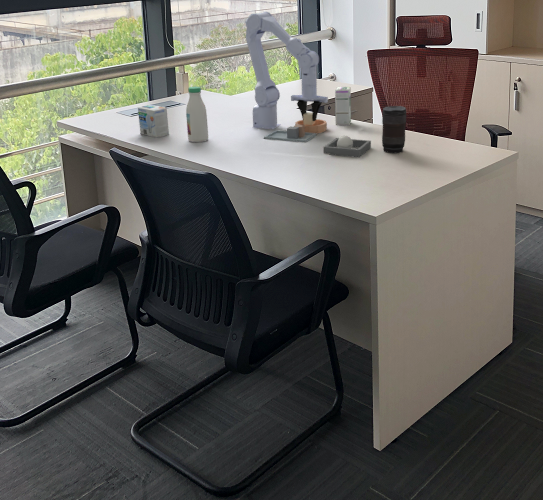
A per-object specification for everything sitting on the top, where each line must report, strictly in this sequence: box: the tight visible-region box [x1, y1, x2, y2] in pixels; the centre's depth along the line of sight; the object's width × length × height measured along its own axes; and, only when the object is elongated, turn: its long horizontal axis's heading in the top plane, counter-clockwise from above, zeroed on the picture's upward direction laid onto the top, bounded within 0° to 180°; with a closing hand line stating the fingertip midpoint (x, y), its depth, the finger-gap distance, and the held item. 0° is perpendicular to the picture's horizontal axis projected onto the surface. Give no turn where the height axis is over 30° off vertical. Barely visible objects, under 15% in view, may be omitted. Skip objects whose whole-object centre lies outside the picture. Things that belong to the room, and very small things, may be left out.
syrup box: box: [334, 86, 352, 127], centre depth 272 cm, size 6×6×14 cm
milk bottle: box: [185, 86, 209, 143], centre depth 255 cm, size 8×8×20 cm
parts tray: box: [263, 129, 317, 143], centre depth 257 cm, size 17×11×1 cm, turn 65°
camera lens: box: [381, 105, 407, 154], centre depth 233 cm, size 8×8×15 cm
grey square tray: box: [323, 137, 372, 158], centre depth 237 cm, size 13×13×3 cm
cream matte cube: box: [302, 111, 315, 125], centre depth 262 cm, size 4×4×4 cm
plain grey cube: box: [286, 126, 299, 139], centre depth 254 cm, size 4×4×4 cm
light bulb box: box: [137, 104, 170, 138], centre depth 268 cm, size 11×7×11 cm, turn 47°
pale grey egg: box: [336, 135, 353, 149], centre depth 237 cm, size 8×6×6 cm
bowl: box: [294, 118, 328, 134], centre depth 265 cm, size 12×12×3 cm
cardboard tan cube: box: [293, 125, 305, 137], centre depth 256 cm, size 4×4×4 cm
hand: (309, 120), depth 263 cm, fingers closed on cream matte cube, 3 cm apart
